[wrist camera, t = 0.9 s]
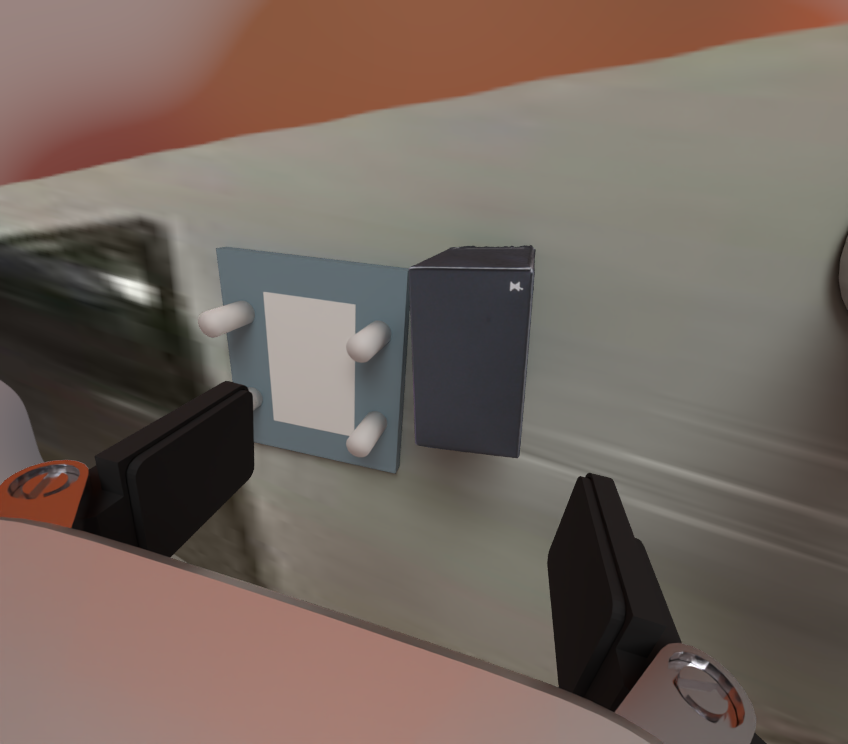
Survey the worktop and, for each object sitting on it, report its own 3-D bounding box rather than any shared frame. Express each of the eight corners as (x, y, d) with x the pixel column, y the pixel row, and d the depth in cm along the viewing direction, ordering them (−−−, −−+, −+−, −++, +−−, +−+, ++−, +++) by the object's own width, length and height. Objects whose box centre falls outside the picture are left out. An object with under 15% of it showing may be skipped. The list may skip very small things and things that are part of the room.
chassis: (412, 268, 30) (390, 279, 25) (399, 465, 37) (380, 503, 32) (226, 246, 33) (175, 252, 28) (247, 432, 40) (210, 462, 35)
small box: (443, 245, 29) (401, 261, 19) (536, 244, 27) (541, 262, 18) (444, 379, 32) (409, 448, 23) (525, 385, 31) (524, 462, 22)
